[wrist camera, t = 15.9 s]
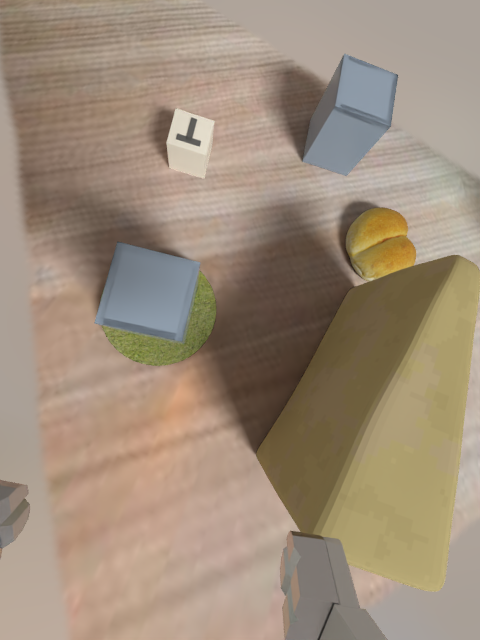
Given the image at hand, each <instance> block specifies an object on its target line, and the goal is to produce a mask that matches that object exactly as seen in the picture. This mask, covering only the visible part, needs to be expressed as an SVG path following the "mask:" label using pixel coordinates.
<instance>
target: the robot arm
mask: <svg viewBox="0 0 480 640" xmlns="http://www.w3.org/2000/svg"><path fill="white" fill-rule="evenodd" d="M27 495H28V486H27V485H23V484H18V483H13V482H7V481H3V480H0V558H1V553H2V548H4V547H5V546H7V545H8V544H10V543H11V542H13V541H14V540H15V539H16V538H17V537H18V535H19V534H20V533H21V531H22V530H23V528H24V526H25V524H26V522H27V520H28V517H29V513H30V504H29V503H28V502H27V501H26V499H25V497H26V496H27ZM280 580H281V589H282V591H283V592H284V594H285V596H286V598H285V601H284V604H283V607H282V610H283V623H284V637H285V640H387V638H386V637H385V635H384V634H383V633H382V631H381V630H380V629H379V627H378V626H377V625H376V623H375V622H374V620H373V619H372V618H371V616H370V615H369V613H368V612H367V611H366V610H365V609H361V608H360V605H359V602H358V598H357V595H356V591H355V588H354V584H353V581H352V577H351V573H350V570H349V566H348V563H347V559H346V556H345V552H344V549H343V545H342V543H341V541H340V540H339V539H336V538H330V537H323V536H321V535H315V534H308V533H302V532H295V531H290V532H289V533H288V536H287V547H286V548H284V549H283V553H282V557H281V566H280Z"/></svg>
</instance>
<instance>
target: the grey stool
mask: <svg viewBox="0 0 480 640" xmlns="http://www.w3.org/2000/svg"><path fill="white" fill-rule="evenodd" d="M199 270H200V262H196V261H192V260H188V259H184V258H180V257H176V256H172V255H168V254H164V253H160V252H157V251H153V250H149V249H145V248H141V247H137V246H133V245H129V244H125V243H121V242H117V245H116V249H115V252H114V256H113V259H112V263H111V266H110V270H109V273H108V277H107V281H106V284H105V288H104V291H103V295H102V298H101V302H100V305H99V309H98V313H97V316H96V320H95V324H99V325H102V326H106V327H109V328H113V329H116V330H120V331H124V332H128V333H133V334H138V335H143V336H148V337H152V338H157V339H162V340H167V341H172V342H176V343H181V344H184V343H185V339H186V335H187V330H188V326H189V322H190V317H191V313H192V309H193V304H194V300H195V296H196V291H197V287H198V279H199Z"/></svg>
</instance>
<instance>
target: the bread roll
mask: <svg viewBox="0 0 480 640" xmlns="http://www.w3.org/2000/svg"><path fill="white" fill-rule="evenodd" d="M407 232H408V226H407V222H406V220H405V219H404V217H403V216H402V215H401V214H400V213H398V212H396V211H394V210H391V209H388V208H373V209H369V210H367V211H365V212H364V213H362V214H361V215H360V216H359V217H358V218H357V219H356V220H355V221H354V222H353V223H352V224H351V226H350V228H349V230H348V232H347V236H346V249H347V253H348V255H349V256H350V259H351V264H352V266H353V268H354V269H355V271H356V272H357V274H358V275H360V276H361V277H362V278H363V279H364V280H366V281H369V282H370V281H373V280H375V279H378V278H380V277H383V276H385V275H388V274H390V273H393V272H396V271H399V270H401V269H405V268H408V267H411V266H413V265H414V263H415V259H416V249H415V247H414V246H413V244H412V242H411V241H410V240H409V239H408V238H407V237H406V236H407Z"/></svg>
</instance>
